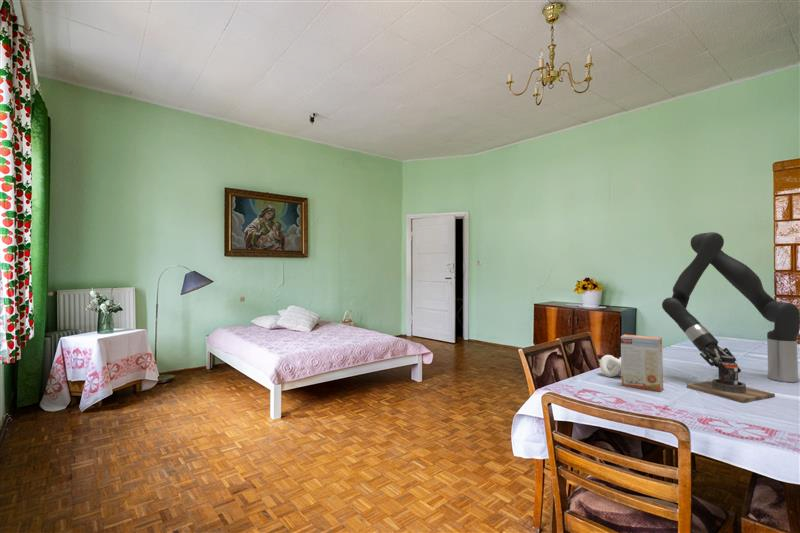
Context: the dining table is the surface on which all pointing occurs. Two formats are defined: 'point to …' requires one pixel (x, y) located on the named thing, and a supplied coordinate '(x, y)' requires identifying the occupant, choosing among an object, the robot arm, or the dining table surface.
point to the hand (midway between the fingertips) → (733, 373)
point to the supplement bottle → (732, 367)
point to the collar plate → (730, 395)
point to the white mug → (610, 366)
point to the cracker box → (642, 362)
